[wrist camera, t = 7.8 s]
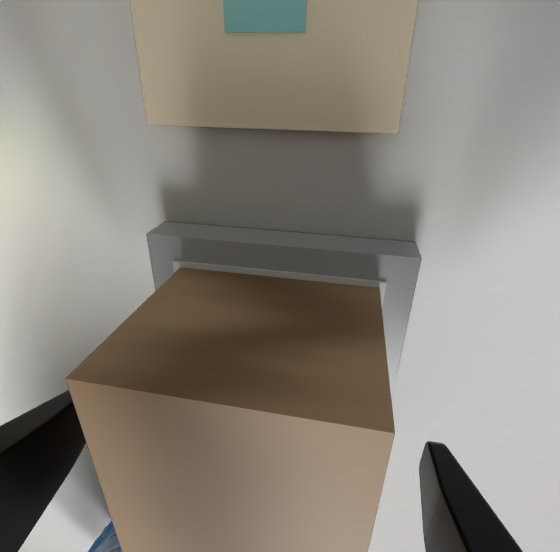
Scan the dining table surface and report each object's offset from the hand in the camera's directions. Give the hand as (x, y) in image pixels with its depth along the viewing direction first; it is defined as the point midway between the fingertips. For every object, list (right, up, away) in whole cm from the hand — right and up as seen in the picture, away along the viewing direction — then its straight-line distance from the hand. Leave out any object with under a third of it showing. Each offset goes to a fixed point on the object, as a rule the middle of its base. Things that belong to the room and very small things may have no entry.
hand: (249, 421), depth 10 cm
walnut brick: (+1, +1, +2) cm, 3 cm away
